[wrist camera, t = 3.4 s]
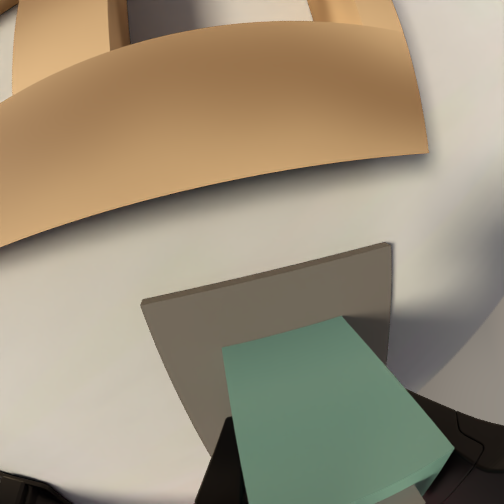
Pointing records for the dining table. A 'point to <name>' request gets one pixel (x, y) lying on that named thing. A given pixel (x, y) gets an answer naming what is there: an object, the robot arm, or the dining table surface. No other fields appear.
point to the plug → (328, 421)
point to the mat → (263, 321)
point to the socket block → (192, 104)
